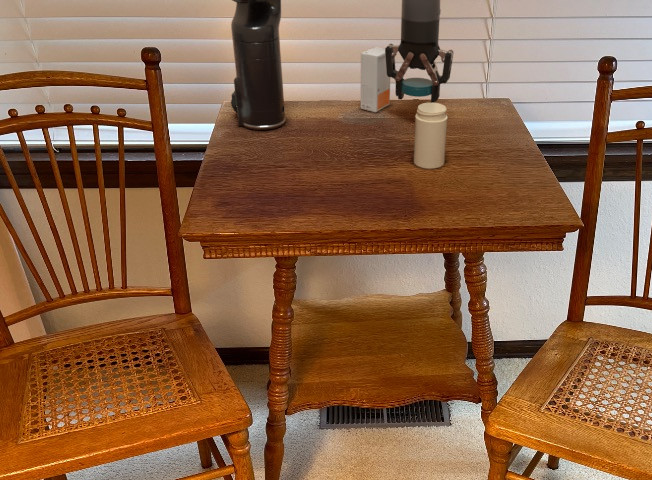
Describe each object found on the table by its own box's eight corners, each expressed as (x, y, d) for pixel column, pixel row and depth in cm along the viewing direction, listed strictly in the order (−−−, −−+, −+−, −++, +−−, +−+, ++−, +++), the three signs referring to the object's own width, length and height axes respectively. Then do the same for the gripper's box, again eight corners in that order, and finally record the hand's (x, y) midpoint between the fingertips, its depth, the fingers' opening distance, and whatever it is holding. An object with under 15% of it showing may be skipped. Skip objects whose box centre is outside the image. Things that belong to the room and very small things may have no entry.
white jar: (412, 167, 143) (414, 112, 136) (414, 154, 148) (416, 100, 141) (443, 169, 143) (447, 114, 136) (445, 156, 147) (448, 102, 140)
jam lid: (436, 88, 158) (437, 79, 157) (429, 98, 153) (429, 88, 152) (406, 85, 160) (406, 76, 158) (397, 94, 154) (398, 85, 153)
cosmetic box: (376, 113, 164) (376, 56, 157) (360, 109, 166) (359, 52, 158) (390, 105, 168) (392, 49, 161) (374, 101, 170) (375, 45, 162)
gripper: (379, 16, 146) (379, 102, 156) (452, 22, 143) (446, 110, 153) (390, 6, 151) (389, 90, 162) (460, 13, 148) (454, 98, 159)
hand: (417, 99), depth 157 cm, fingers closed on jam lid, 6 cm apart
